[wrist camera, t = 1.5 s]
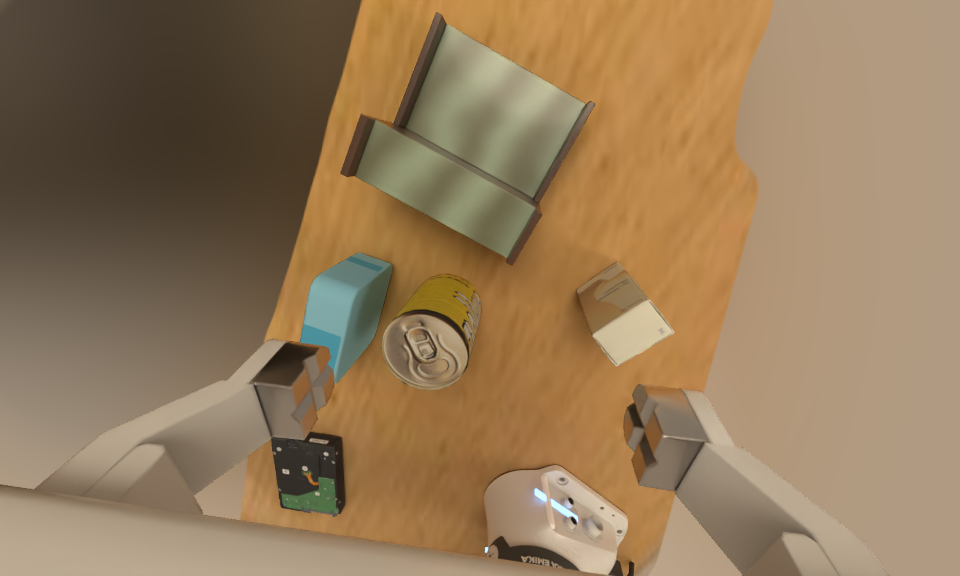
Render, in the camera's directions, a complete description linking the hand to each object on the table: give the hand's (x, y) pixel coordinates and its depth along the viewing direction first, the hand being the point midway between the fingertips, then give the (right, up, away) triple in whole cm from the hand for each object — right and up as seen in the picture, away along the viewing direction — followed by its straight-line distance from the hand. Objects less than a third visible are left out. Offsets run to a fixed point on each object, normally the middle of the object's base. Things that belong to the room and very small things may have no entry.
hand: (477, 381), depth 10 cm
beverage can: (-4, 0, +38) cm, 38 cm away
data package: (-15, +1, +39) cm, 41 cm away
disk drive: (-27, -27, +50) cm, 63 cm away
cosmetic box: (+16, +2, +35) cm, 38 cm away
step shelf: (+1, +19, +31) cm, 36 cm away
